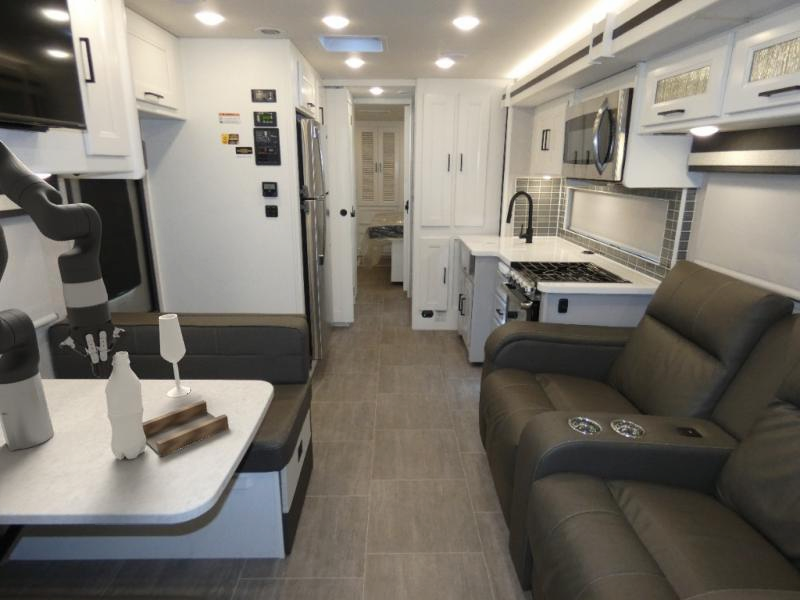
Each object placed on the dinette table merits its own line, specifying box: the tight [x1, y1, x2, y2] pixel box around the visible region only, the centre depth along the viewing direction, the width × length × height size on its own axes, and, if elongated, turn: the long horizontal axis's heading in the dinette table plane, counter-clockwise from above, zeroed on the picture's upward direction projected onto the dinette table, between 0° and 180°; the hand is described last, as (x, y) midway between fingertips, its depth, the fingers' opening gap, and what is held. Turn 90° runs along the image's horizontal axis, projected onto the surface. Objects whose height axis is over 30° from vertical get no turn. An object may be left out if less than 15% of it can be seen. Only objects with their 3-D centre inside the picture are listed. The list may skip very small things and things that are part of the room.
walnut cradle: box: [142, 399, 230, 458], centre depth 120 cm, size 17×13×4 cm
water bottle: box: [104, 351, 147, 460], centre depth 108 cm, size 7×7×25 cm
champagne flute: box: [158, 313, 191, 398], centre depth 139 cm, size 7×7×24 cm
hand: (101, 376), depth 103 cm, fingers closed
